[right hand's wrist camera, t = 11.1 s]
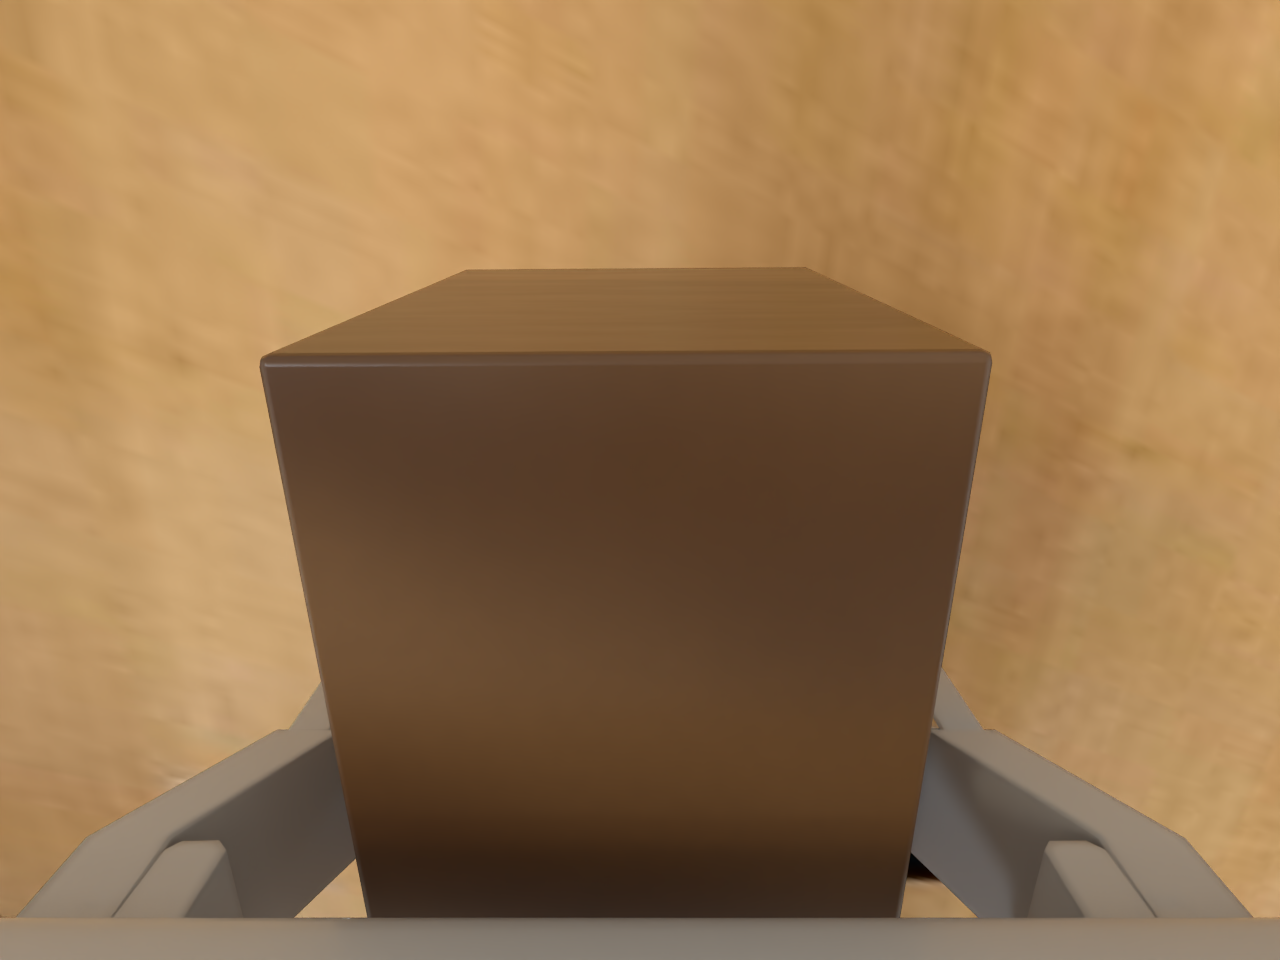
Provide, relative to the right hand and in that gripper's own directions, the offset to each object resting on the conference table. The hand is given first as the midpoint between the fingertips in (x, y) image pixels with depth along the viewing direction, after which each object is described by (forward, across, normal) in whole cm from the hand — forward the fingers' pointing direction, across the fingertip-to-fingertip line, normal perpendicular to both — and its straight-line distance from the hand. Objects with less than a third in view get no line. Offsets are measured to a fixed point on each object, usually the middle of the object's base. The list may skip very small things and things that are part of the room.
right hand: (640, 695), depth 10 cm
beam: (+3, 0, -32) cm, 32 cm away
